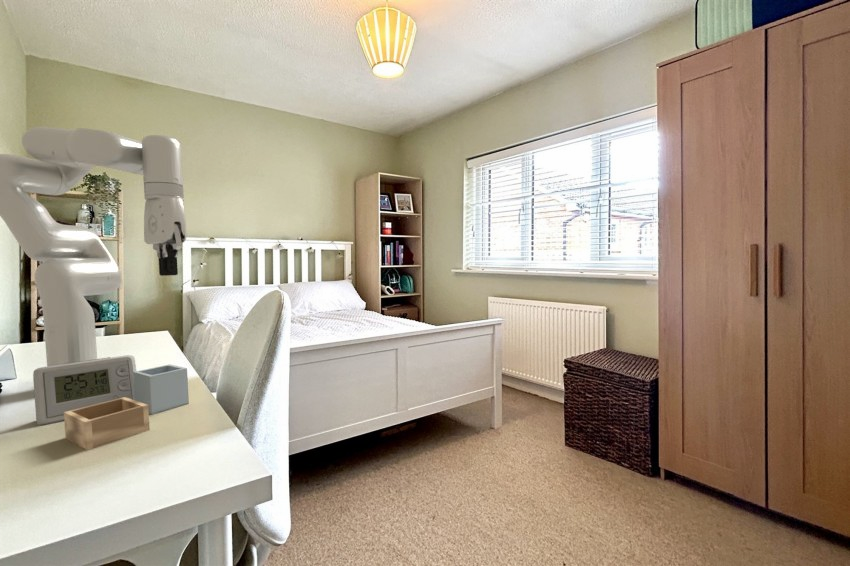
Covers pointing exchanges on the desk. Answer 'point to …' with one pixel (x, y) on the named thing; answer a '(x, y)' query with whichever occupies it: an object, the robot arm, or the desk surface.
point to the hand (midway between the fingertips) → (168, 275)
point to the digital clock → (81, 385)
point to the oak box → (106, 422)
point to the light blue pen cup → (161, 387)
